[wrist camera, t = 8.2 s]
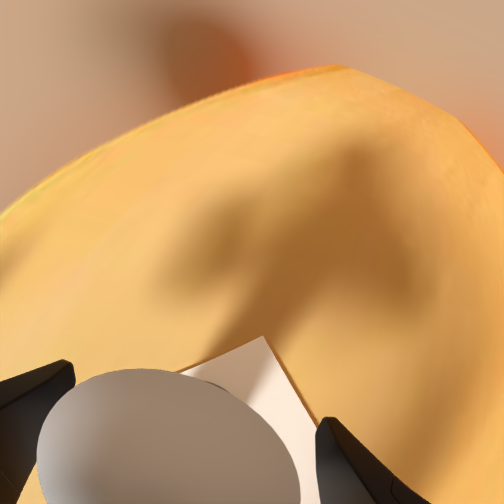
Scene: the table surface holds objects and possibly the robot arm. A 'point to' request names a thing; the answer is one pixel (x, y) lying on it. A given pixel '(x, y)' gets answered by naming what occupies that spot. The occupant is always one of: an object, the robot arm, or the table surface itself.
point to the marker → (160, 445)
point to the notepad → (268, 403)
